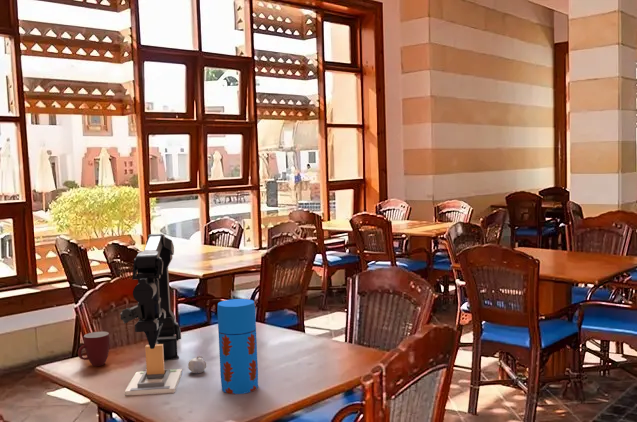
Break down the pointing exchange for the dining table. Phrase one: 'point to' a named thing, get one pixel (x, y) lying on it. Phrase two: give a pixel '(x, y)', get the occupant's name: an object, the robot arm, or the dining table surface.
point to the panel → (154, 383)
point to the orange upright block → (155, 361)
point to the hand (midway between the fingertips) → (152, 348)
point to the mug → (96, 347)
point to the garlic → (197, 365)
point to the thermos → (237, 346)
